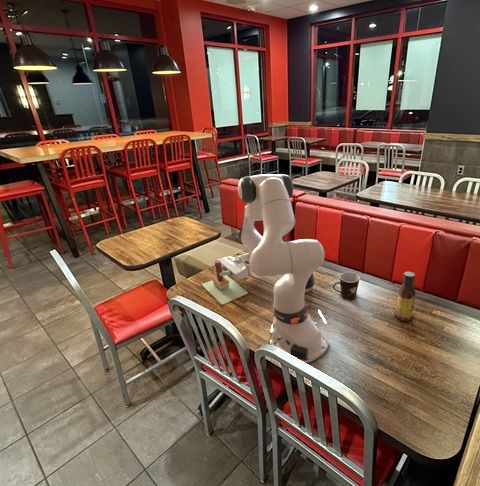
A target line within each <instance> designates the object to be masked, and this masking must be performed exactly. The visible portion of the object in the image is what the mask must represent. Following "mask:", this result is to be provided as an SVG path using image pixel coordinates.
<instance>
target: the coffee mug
mask: <svg viewBox="0 0 480 486" xmlns="http://www.w3.org/2000/svg"><path fill="white" fill-rule="evenodd" d="M360 280H361V277H360V275H359V274H357V273H356V272H352V271H345V272H342V273H340V274H339V281H337V282H334V284H333V286H332V288H333V289H334V291H335V292H338V293H340V297H341V298H342V299H344V300H345V301H353V300H356V298H357V293H358V288H359V283H360ZM336 285H340V290H338V289H336V288H335V287H336Z"/></svg>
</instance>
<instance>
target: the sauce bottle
mask: <svg viewBox="0 0 480 486" xmlns="http://www.w3.org/2000/svg"><path fill="white" fill-rule="evenodd" d="M415 279H416V274H415V272H412V271H405V272H404V273H403V281H402V284H401V285H400V287H399V289H398V294H397V301H396V309H395V317H396V318H397V319H398V320H400V321H402V322H409V321H411V320H412V318H413V314H414V310H415V309H414V308H415V302H416V294H417V291H416V288H415Z"/></svg>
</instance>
